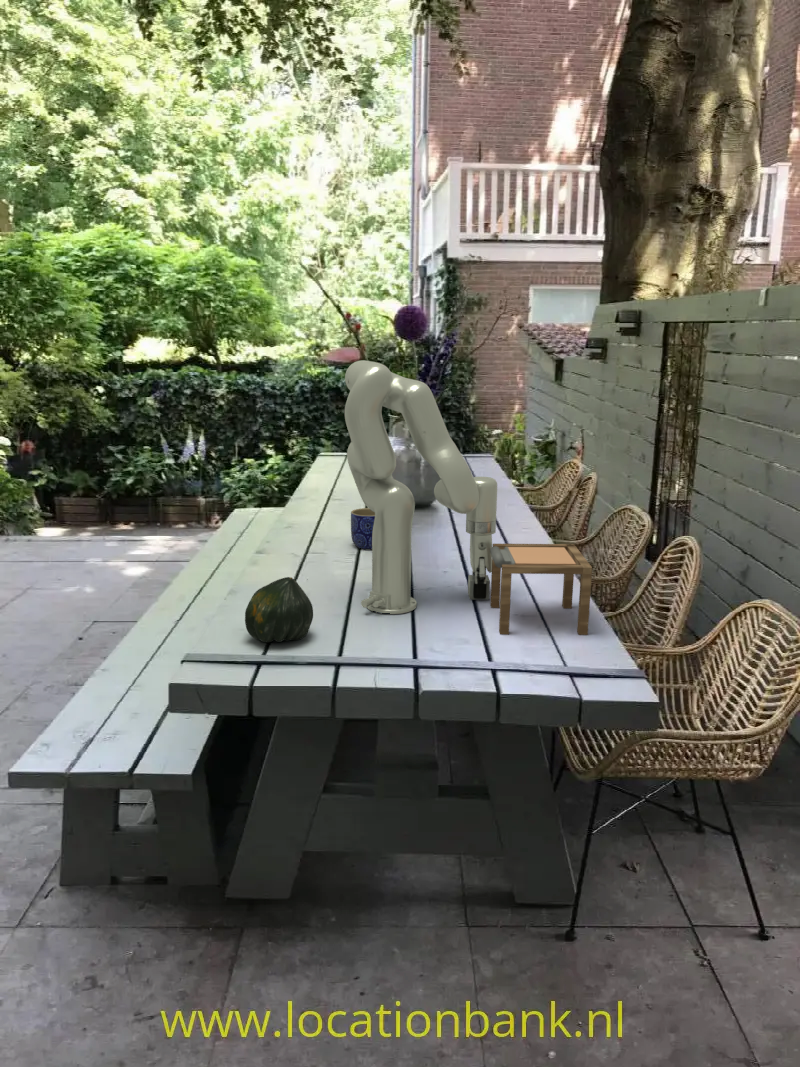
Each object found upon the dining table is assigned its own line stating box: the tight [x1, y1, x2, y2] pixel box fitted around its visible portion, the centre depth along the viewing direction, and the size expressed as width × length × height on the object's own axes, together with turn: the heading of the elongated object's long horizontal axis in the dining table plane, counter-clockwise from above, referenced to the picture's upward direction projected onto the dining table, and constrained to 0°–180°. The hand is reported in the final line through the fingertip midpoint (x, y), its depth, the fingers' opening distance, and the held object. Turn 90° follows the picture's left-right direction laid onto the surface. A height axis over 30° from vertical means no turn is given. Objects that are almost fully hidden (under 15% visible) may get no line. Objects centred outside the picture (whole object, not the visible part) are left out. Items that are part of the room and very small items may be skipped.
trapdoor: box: [490, 546, 576, 569], centre depth 203 cm, size 14×18×2 cm
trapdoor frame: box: [490, 543, 593, 636], centre depth 205 cm, size 20×20×16 cm
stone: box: [467, 574, 491, 601], centre depth 222 cm, size 5×5×5 cm
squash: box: [244, 576, 314, 643], centre depth 192 cm, size 14×15×15 cm
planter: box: [350, 507, 375, 550], centre depth 267 cm, size 11×11×11 cm
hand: (478, 593), depth 223 cm, fingers closed on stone, 5 cm apart
